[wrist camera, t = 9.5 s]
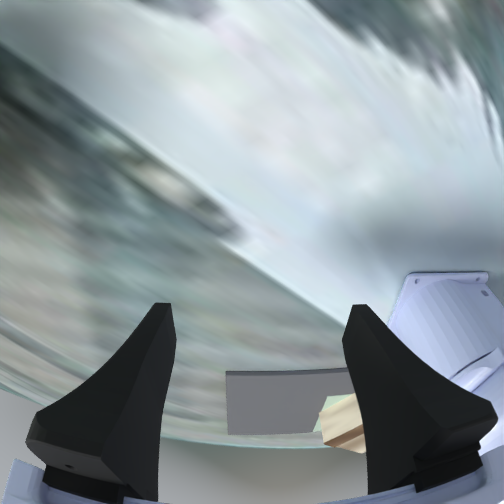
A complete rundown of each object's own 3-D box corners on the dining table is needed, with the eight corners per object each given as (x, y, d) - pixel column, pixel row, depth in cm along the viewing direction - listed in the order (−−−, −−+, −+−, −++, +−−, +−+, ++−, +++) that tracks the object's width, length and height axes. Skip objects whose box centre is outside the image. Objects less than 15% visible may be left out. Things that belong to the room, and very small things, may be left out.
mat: (418, 360, 29) (419, 364, 29) (379, 420, 36) (380, 423, 36) (225, 371, 29) (225, 375, 28) (228, 431, 35) (228, 434, 35)
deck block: (388, 409, 34) (396, 437, 30) (355, 427, 36) (362, 454, 32) (354, 392, 31) (363, 425, 27) (318, 412, 33) (324, 444, 29)
